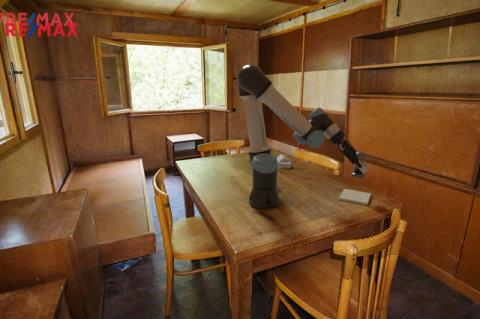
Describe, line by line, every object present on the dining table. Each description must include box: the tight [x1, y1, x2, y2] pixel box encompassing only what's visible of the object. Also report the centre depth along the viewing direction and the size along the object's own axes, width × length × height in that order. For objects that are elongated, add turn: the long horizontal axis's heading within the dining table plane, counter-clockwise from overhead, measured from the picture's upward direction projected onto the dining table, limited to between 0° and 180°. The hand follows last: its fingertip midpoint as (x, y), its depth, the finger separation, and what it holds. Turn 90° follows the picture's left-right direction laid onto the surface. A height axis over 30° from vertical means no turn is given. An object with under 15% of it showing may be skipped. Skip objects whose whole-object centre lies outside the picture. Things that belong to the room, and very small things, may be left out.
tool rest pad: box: [338, 188, 372, 206], centre depth 136 cm, size 13×13×1 cm
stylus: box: [350, 150, 366, 179], centre depth 131 cm, size 6×6×12 cm
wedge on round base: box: [276, 154, 292, 170], centre depth 188 cm, size 9×7×13 cm
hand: (366, 170), depth 130 cm, fingers closed on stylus, 4 cm apart
